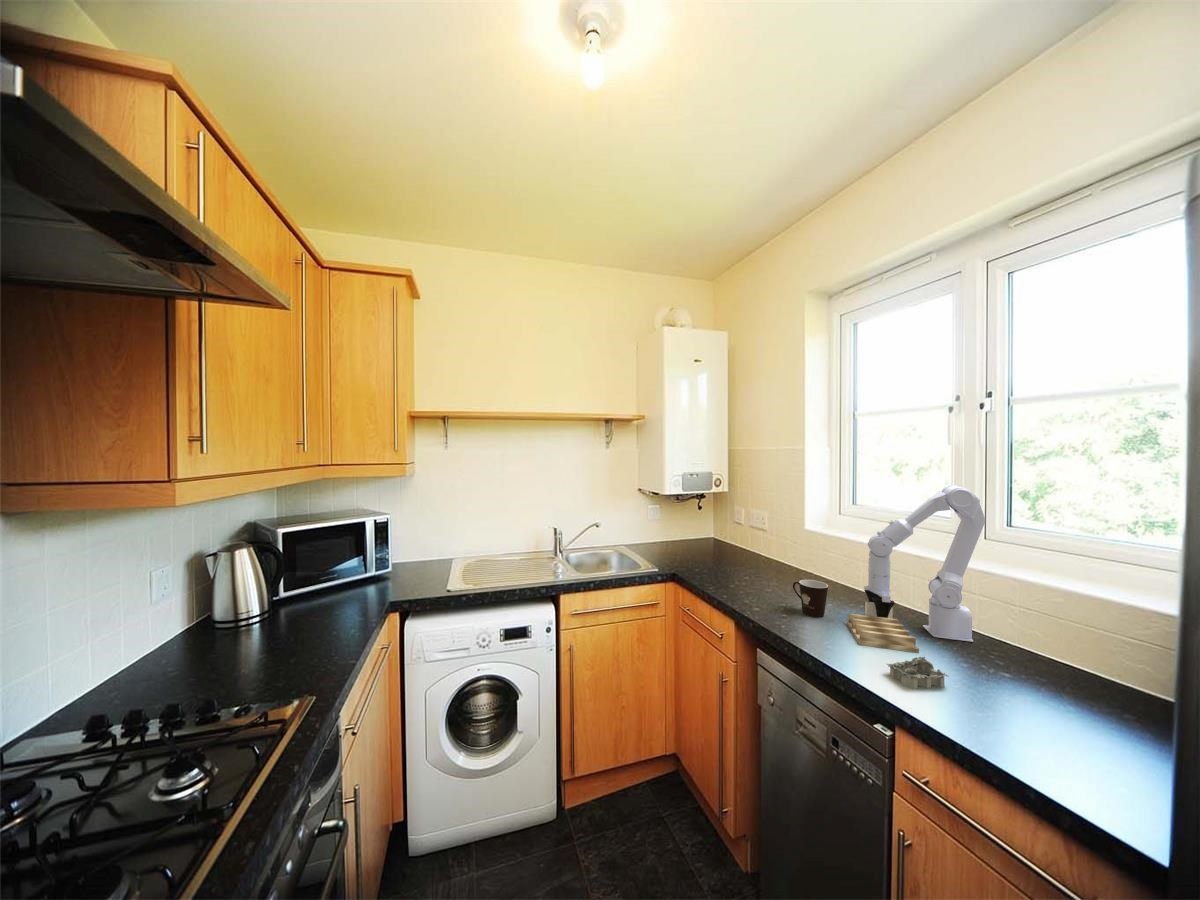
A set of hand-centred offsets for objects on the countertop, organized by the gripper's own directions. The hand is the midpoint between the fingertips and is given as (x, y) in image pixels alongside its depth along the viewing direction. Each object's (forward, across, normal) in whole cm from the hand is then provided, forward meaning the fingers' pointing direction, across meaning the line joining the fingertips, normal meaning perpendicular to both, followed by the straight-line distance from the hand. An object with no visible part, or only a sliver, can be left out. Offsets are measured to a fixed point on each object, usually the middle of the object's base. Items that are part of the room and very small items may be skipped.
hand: (878, 617), depth 133 cm
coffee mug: (+2, -2, -19) cm, 19 cm away
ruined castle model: (+2, +36, -2) cm, 36 cm away
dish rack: (+2, +12, -3) cm, 12 cm away
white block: (+2, 0, 0) cm, 2 cm away
